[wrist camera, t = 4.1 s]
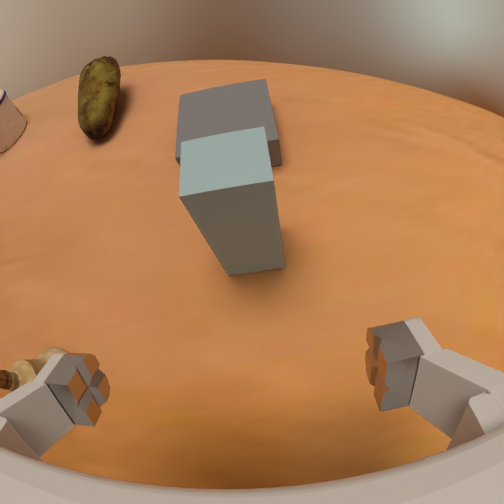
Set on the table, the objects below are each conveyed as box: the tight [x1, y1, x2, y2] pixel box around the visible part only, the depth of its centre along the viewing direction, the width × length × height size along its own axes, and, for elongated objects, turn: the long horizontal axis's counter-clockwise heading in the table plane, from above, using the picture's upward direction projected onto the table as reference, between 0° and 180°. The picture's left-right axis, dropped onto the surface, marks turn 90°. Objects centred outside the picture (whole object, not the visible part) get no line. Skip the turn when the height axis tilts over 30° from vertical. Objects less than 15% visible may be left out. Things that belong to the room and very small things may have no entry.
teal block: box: [179, 127, 285, 276], centre depth 23 cm, size 4×5×13 cm
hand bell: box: [0, 348, 68, 393], centre depth 19 cm, size 8×8×16 cm
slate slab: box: [175, 79, 282, 167], centre depth 33 cm, size 10×10×4 cm
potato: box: [78, 56, 121, 139], centre depth 37 cm, size 8×13×8 cm, turn 168°
